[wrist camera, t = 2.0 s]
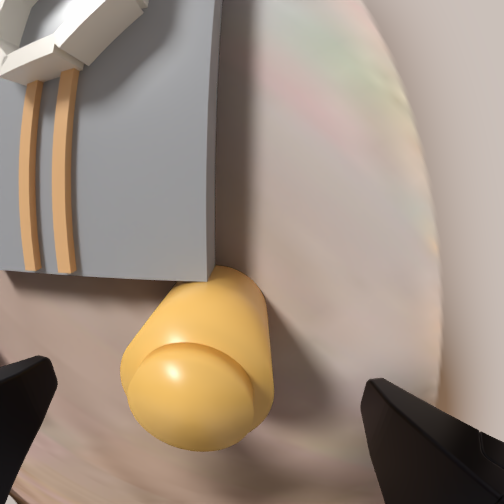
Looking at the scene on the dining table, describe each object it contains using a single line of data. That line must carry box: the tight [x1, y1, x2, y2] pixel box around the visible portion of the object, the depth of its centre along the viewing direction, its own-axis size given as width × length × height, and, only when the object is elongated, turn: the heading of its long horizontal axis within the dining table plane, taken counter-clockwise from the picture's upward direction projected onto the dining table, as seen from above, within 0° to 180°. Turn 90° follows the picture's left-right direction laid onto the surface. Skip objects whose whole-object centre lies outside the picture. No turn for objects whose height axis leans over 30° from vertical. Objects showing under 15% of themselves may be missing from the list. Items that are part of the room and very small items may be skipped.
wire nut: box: [120, 265, 274, 452], centre depth 9 cm, size 4×4×6 cm
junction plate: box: [0, 0, 223, 282], centre depth 8 cm, size 16×12×4 cm
